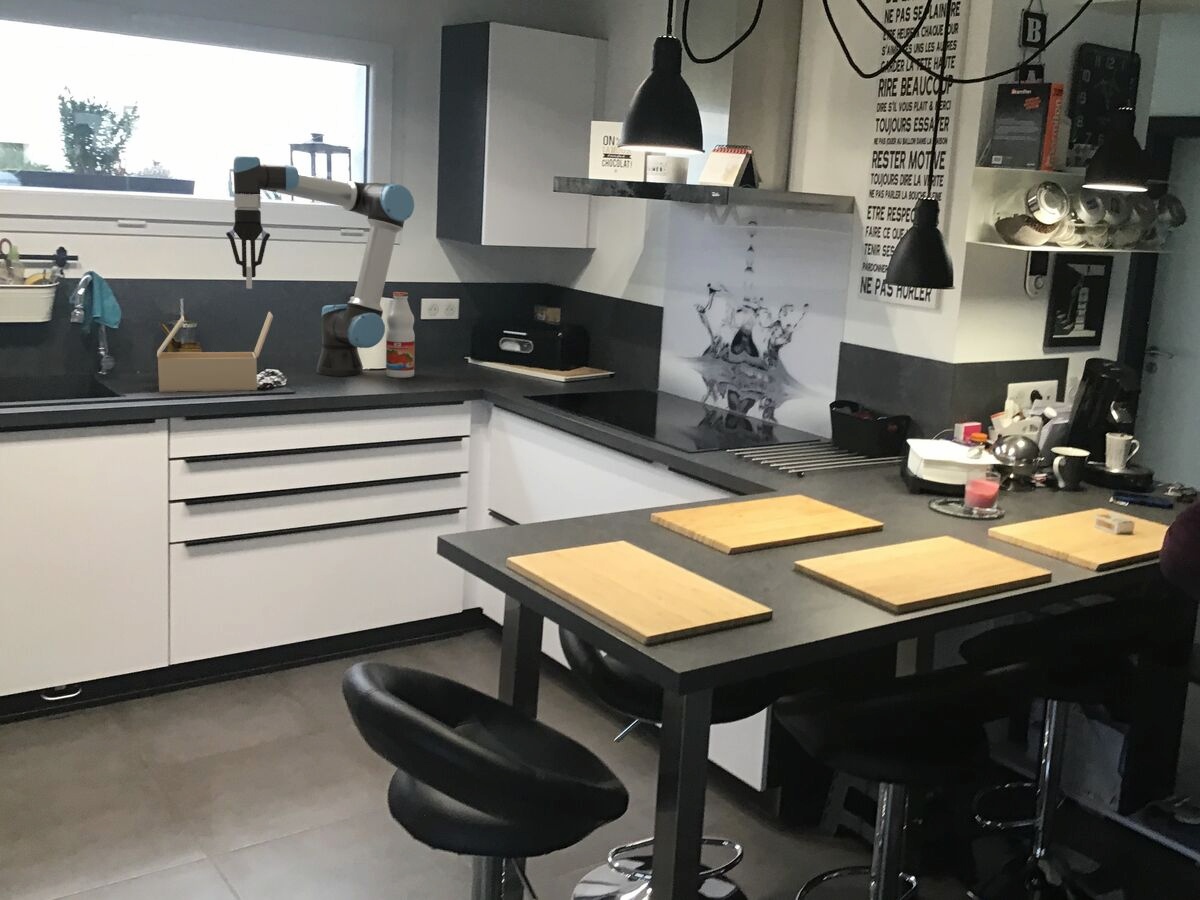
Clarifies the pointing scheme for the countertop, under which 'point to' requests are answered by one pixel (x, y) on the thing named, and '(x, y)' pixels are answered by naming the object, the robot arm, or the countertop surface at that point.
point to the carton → (207, 371)
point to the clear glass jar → (177, 344)
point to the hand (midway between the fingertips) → (249, 288)
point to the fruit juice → (400, 338)
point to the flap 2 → (263, 334)
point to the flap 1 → (170, 336)
